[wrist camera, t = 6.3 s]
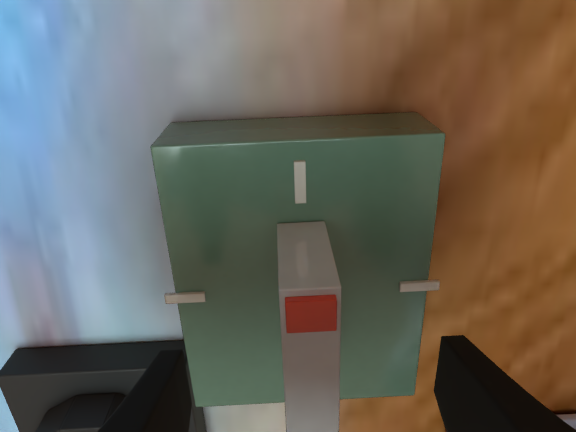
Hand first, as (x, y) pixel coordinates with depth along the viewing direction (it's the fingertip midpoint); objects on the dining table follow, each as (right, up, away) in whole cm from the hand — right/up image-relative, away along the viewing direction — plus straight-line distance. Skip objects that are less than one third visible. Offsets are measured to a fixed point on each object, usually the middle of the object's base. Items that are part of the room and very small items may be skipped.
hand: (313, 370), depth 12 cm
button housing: (-9, -6, +10) cm, 14 cm away
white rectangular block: (0, +2, +3) cm, 4 cm away
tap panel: (0, +3, +6) cm, 7 cm away
